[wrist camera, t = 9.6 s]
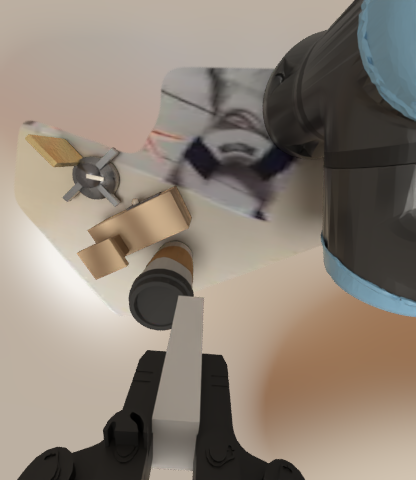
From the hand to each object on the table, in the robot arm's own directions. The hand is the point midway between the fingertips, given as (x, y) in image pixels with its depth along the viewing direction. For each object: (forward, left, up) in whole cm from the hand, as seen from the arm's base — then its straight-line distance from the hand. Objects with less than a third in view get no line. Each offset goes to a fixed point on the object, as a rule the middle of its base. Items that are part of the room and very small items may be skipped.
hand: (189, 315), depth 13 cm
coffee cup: (+8, +5, -27) cm, 28 cm away
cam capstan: (+13, -13, -26) cm, 32 cm away
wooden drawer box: (+9, -3, -26) cm, 28 cm away
